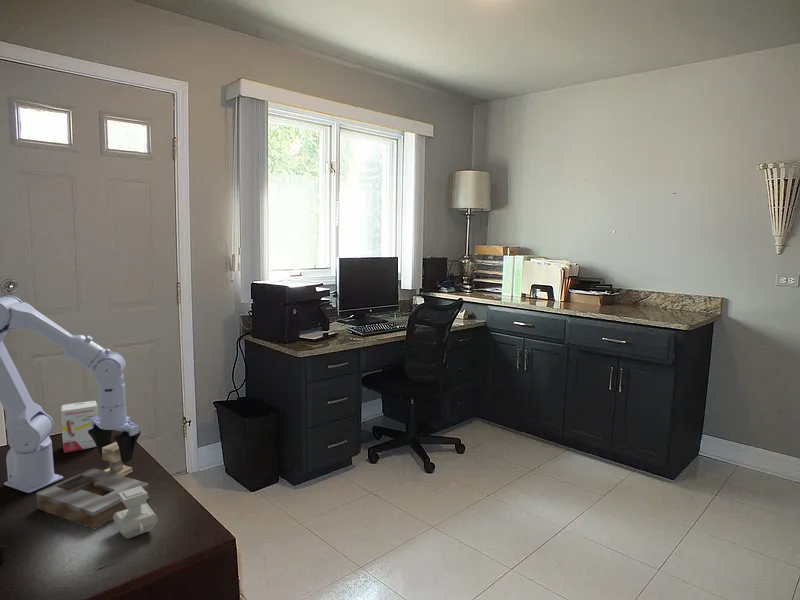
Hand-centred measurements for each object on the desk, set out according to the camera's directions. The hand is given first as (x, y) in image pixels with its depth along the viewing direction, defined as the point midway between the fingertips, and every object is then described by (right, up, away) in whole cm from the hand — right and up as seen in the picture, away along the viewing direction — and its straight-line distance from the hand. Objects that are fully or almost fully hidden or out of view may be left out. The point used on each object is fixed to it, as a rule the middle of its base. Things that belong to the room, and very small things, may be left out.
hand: (115, 458), depth 125 cm
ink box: (-18, -2, +16) cm, 24 cm away
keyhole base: (+3, -6, -13) cm, 15 cm away
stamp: (+17, -8, -23) cm, 29 cm away
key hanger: (0, -4, +1) cm, 4 cm away
